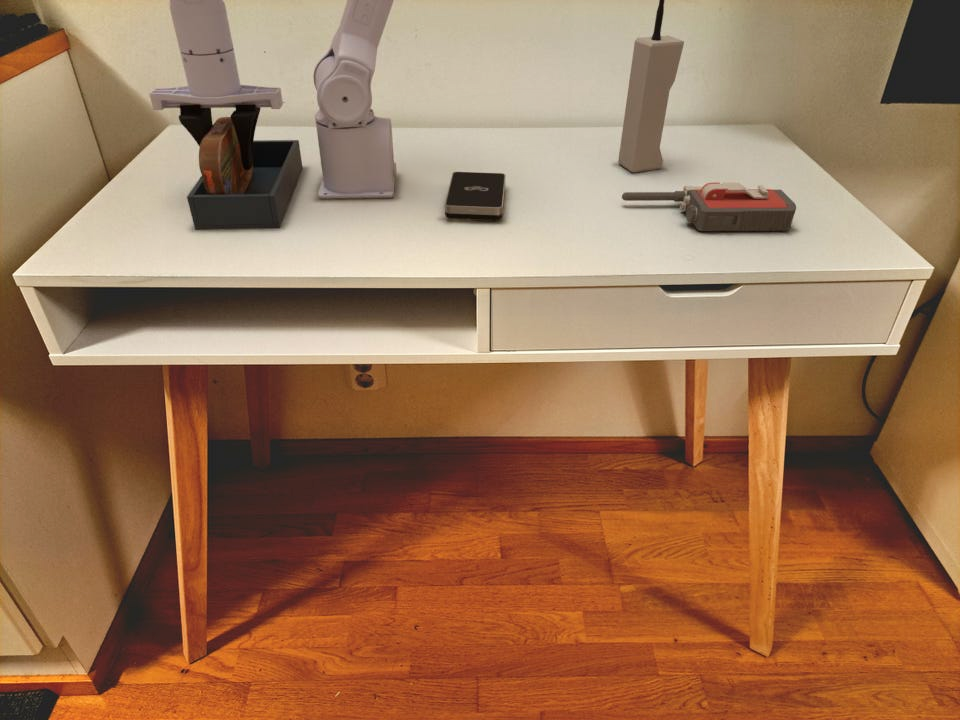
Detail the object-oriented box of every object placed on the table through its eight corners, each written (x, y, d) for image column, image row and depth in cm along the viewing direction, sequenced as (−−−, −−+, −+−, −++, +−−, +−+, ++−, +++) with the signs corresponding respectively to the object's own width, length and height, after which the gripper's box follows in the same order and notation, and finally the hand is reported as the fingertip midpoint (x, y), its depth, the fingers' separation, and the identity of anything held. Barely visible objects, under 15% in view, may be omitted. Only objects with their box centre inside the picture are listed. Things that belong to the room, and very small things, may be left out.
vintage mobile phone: (661, 169, 96) (698, -35, 81) (631, 173, 94) (662, -33, 80) (647, 160, 99) (679, -38, 84) (617, 164, 97) (645, -37, 82)
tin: (231, 218, 80) (220, 148, 75) (204, 217, 80) (190, 146, 75) (257, 171, 92) (248, 107, 87) (233, 170, 92) (223, 106, 87)
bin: (302, 168, 94) (298, 139, 92) (279, 228, 79) (274, 195, 77) (231, 169, 94) (225, 140, 91) (195, 229, 79) (186, 196, 76)
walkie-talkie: (773, 202, 87) (618, 202, 86) (782, 168, 84) (623, 169, 84) (801, 232, 80) (633, 233, 79) (813, 197, 77) (639, 198, 77)
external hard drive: (505, 187, 90) (505, 173, 89) (502, 224, 81) (502, 208, 80) (453, 186, 90) (452, 171, 89) (444, 221, 81) (443, 206, 80)
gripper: (278, 41, 80) (296, 155, 88) (152, 41, 79) (181, 156, 87) (267, 55, 74) (287, 175, 82) (131, 56, 73) (164, 177, 81)
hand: (232, 167), depth 84 cm, fingers open, 3 cm apart
